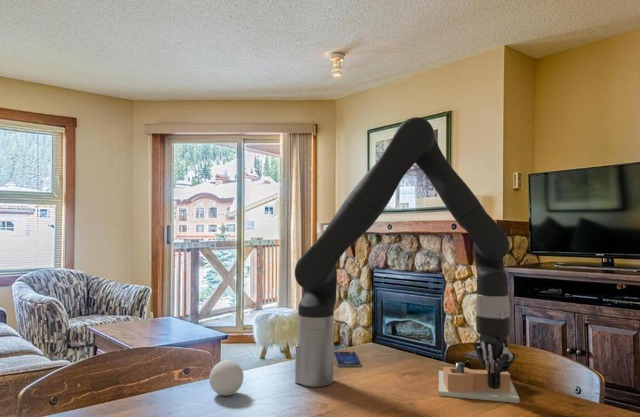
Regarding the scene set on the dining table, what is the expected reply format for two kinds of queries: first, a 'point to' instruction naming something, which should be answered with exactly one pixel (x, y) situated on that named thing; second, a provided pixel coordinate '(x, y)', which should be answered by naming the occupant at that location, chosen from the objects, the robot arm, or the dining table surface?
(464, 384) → the link
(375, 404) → the dining table surface
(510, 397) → the board
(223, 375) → the ball
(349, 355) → the smartphone
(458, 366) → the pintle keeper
